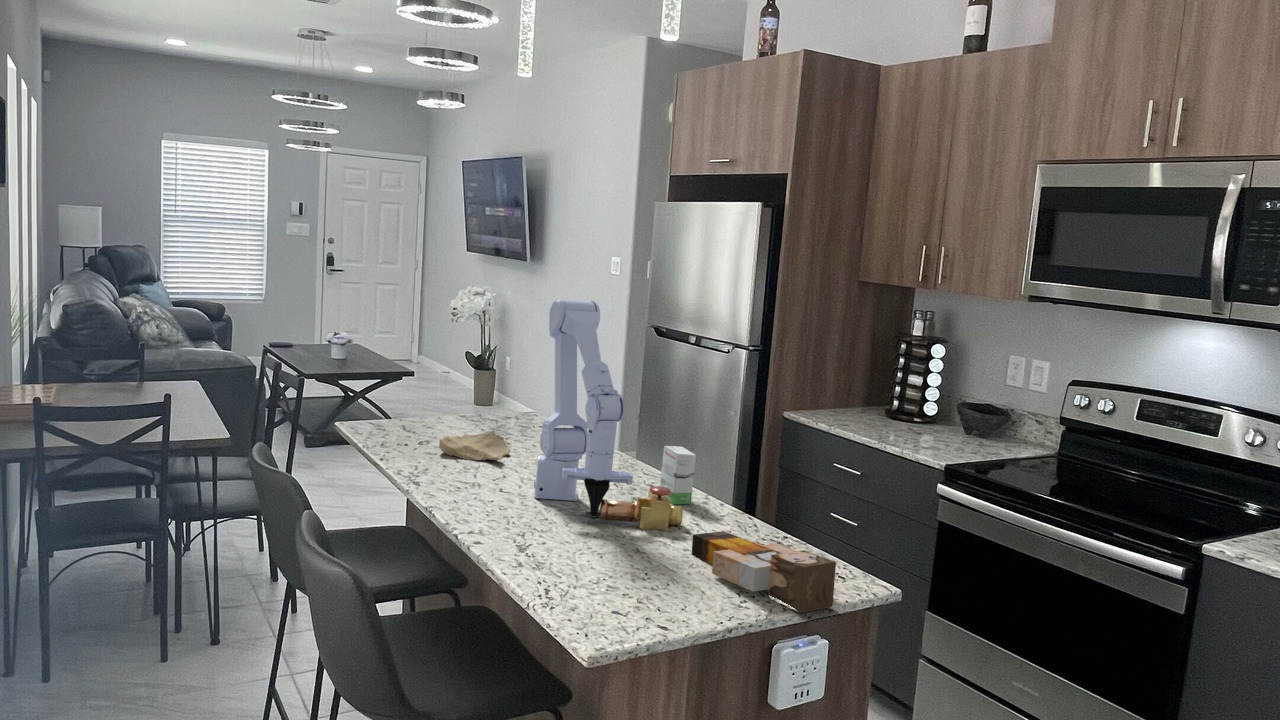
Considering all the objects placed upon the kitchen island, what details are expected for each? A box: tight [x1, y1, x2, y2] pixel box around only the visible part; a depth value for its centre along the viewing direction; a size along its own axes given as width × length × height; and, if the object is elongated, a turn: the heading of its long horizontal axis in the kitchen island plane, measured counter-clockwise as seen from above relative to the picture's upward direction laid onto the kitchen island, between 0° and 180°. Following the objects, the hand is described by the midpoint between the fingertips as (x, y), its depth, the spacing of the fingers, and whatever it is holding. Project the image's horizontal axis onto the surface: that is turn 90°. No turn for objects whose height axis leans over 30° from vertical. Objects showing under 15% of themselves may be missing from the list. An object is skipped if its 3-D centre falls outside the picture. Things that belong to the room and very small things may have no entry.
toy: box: [691, 530, 837, 614], centre depth 170 cm, size 15×8×30 cm
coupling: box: [598, 498, 640, 522], centre depth 196 cm, size 8×4×4 cm, turn 96°
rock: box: [438, 430, 512, 462], centre depth 239 cm, size 18×15×4 cm
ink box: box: [659, 445, 697, 505], centre depth 217 cm, size 9×5×12 cm, turn 22°
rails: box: [584, 510, 640, 528], centre depth 196 cm, size 11×6×1 cm, turn 97°
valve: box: [636, 485, 684, 530], centre depth 196 cm, size 9×8×8 cm
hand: (593, 514), depth 195 cm, fingers closed
